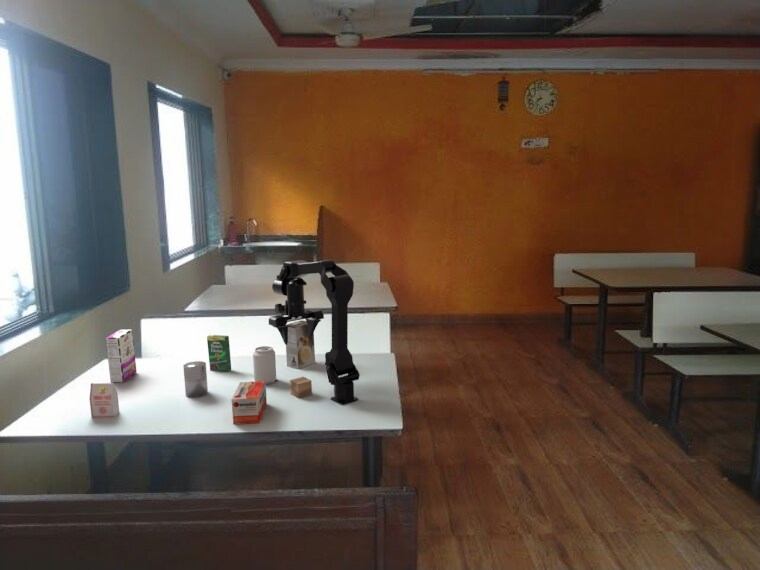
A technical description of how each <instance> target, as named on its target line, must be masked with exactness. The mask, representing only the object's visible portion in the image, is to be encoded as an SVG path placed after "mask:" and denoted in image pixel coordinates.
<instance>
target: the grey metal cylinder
mask: <svg viewBox="0 0 760 570" xmlns="http://www.w3.org/2000/svg"><path fill="white" fill-rule="evenodd" d="M182 366H183V377H184V378H183V380H184V389H185V390H184V391H185V396H186V397H187V398H189V399H190V398H191V399H194V398H195V399H196V398H202V397H204V396H206V395H207V394H208V392H209V390H208V388H209V386H208V376H207V375H208V374H207V363H206V361H205V362H204V361H202V360H201V361H200V360H196V361H190V362H186V363H185V364H183V365H182Z"/></svg>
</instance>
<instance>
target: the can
mask: <svg viewBox="0 0 760 570" xmlns="http://www.w3.org/2000/svg"><path fill="white" fill-rule="evenodd" d="M252 358H253V359H252V361H253V378H254V379H253V380H254V382H255V381H266V385H269V384H272V383H274V382H275V381H276V379H277V367H276V366H277V363H276V361H277V360H276V351H275V350H274V348H273V347H272V346H269V345H263V346H258V347H255V349H254V351H253V353H252Z"/></svg>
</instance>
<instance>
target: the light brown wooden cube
mask: <svg viewBox="0 0 760 570" xmlns="http://www.w3.org/2000/svg"><path fill="white" fill-rule="evenodd" d="M289 385H290V386H289V387H290V388H289V389H290V395H291V396H293V397H295V398H297V399H302V398H307V397H309V396H312V395H313V388H312V380H311V379H309V378H307V377H306V376H300V377H296V378H292V379H290V380H289Z"/></svg>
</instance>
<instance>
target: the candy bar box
mask: <svg viewBox="0 0 760 570" xmlns="http://www.w3.org/2000/svg"><path fill="white" fill-rule="evenodd" d="M105 344H106V345H105V346H106V352H107V353H106V354H107V360H108V363H107V364H108V370H109V379H110V383H114V384H115V383H118V384H119V383H125V382H126V381H127V380H129V379H130V378H131V377H132V376H134V375H135V374H136V373H137V365H136V364H137V363H136V355H135V346H134V336H133V329H123V328H122V329H119V330H117V331H115V332H114V333H112V334H110V335H109V336H107V337H105Z"/></svg>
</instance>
